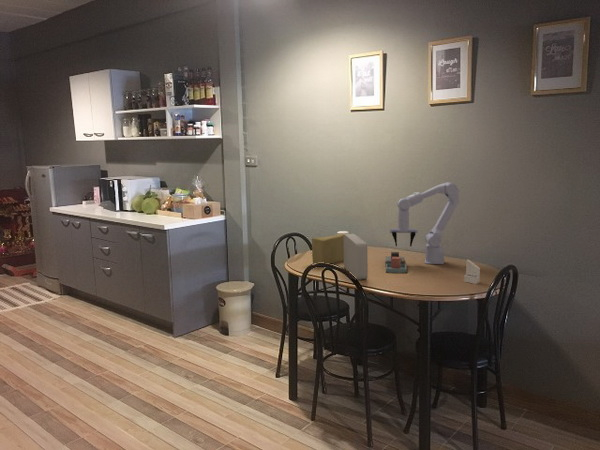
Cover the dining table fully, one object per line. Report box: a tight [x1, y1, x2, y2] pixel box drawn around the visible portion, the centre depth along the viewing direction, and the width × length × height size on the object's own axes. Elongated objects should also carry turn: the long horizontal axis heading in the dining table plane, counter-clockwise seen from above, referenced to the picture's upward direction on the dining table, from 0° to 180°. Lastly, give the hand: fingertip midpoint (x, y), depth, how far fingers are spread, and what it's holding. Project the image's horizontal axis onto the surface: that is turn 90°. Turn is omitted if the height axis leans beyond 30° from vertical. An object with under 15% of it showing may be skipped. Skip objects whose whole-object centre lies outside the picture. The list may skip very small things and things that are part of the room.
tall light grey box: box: [343, 233, 369, 281], centre depth 254 cm, size 29×8×18 cm, turn 8°
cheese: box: [311, 234, 344, 264], centre depth 277 cm, size 22×10×15 cm, turn 126°
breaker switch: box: [390, 251, 400, 258], centre depth 266 cm, size 4×3×4 cm
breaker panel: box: [384, 256, 406, 268], centre depth 270 cm, size 10×11×4 cm
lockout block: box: [391, 256, 402, 269], centre depth 258 cm, size 4×4×6 cm
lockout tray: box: [385, 263, 408, 274], centre depth 259 cm, size 10×10×2 cm
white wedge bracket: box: [463, 259, 481, 285], centre depth 235 cm, size 4×10×9 cm, turn 44°
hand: (403, 246), depth 271 cm, fingers open, 7 cm apart
